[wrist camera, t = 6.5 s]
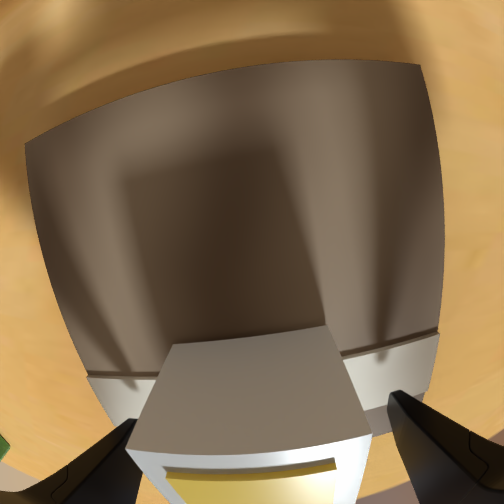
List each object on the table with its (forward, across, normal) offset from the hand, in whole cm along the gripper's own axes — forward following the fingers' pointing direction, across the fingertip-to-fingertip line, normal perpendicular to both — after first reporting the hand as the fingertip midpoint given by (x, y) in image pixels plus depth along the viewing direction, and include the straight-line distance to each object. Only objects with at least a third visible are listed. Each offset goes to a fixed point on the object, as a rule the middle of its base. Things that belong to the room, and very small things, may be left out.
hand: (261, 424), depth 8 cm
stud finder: (+1, 0, 0) cm, 1 cm away
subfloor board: (+2, 0, -4) cm, 4 cm away
